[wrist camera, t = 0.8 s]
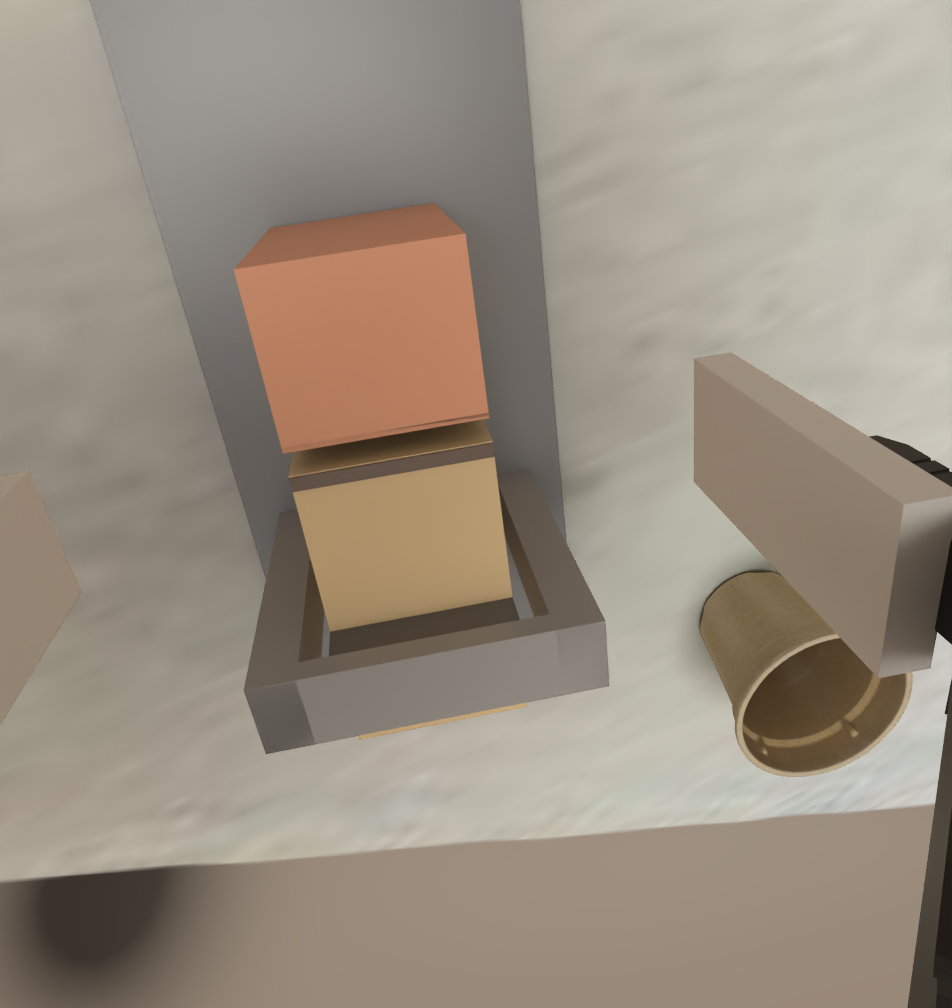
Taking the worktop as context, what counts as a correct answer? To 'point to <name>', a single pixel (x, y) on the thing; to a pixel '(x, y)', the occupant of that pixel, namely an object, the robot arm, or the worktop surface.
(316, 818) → the worktop surface
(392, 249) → the block
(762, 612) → the flower pot
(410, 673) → the holder
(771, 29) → the worktop surface
